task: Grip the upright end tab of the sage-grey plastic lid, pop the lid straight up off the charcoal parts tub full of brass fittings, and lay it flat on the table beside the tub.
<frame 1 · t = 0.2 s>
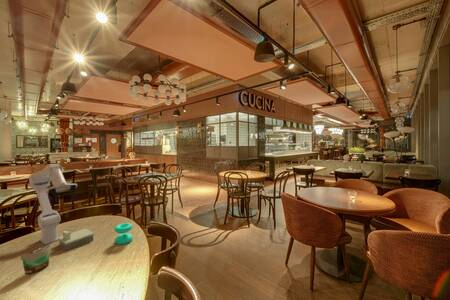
hand: (66, 199, 113), 30 cm above the table, tool tilted 45°, fingers open, 7 cm apart
lid: (76, 236, 127), point 3 cm above the table, touching tub
food container: (40, 269, 101), on the table
donuts: (124, 241, 128), on the table
tub: (76, 242, 127), on the table
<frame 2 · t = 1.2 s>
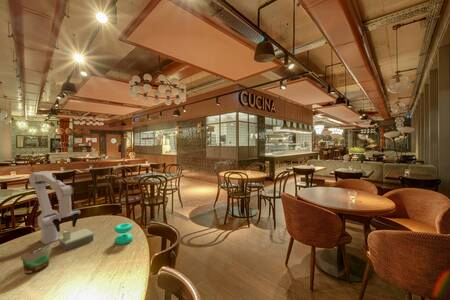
hand: (66, 228, 122), 10 cm above the table, tool pointing down, fingers open, 7 cm apart
nothing on the table moved.
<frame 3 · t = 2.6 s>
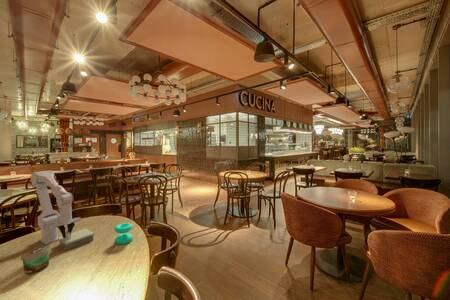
hand: (66, 236, 122), 6 cm above the table, tool pointing down, fingers closed on lid
lid: (76, 236, 127), point 3 cm above the table, touching gripper, tub
everything else where it was.
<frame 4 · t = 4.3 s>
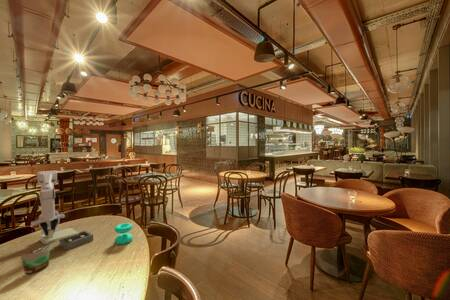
hand: (49, 234, 115), 10 cm above the table, tool pointing down, fingers closed on lid, 2 cm apart
lid: (59, 235, 120), point 8 cm above the table, touching gripper
everything else where it was.
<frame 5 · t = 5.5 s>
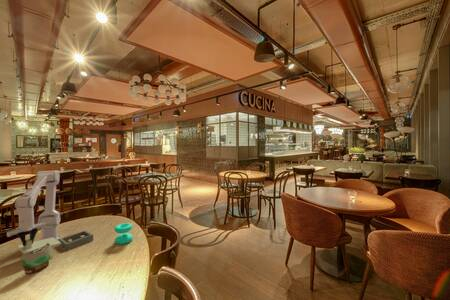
hand: (27, 244, 108), 8 cm above the table, tool pointing down, fingers closed on lid, 2 cm apart
lid: (39, 246, 112), point 5 cm above the table, tilted 6°, touching gripper
everything else where it was.
when the fingers open (4 cm above the table, at t = 6.4 s): lid drops 1 cm, on the table.
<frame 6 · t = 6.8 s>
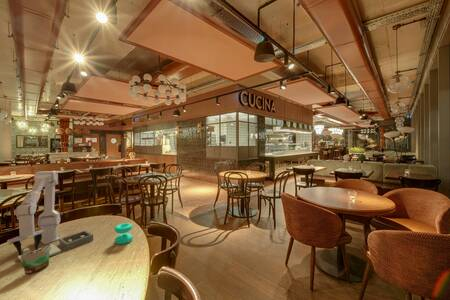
hand: (28, 252, 108), 4 cm above the table, tool pointing down, fingers open, 6 cm apart
lid: (40, 254, 112), on the table
everything else where it was.
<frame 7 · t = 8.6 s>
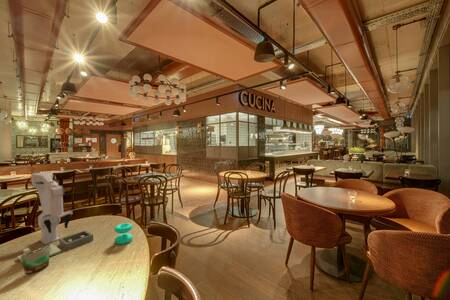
hand: (58, 230, 121), 10 cm above the table, tool pointing down, fingers open, 7 cm apart
nothing on the table moved.
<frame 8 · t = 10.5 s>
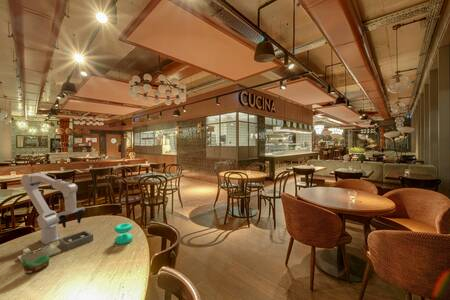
hand: (71, 224, 128), 10 cm above the table, tool pointing down, fingers open, 7 cm apart
nothing on the table moved.
at the end: lid inside the target area (0.5 cm from its centre), point 0.5 cm above the table; lid tilted 0°; the gripper is holding nothing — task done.
